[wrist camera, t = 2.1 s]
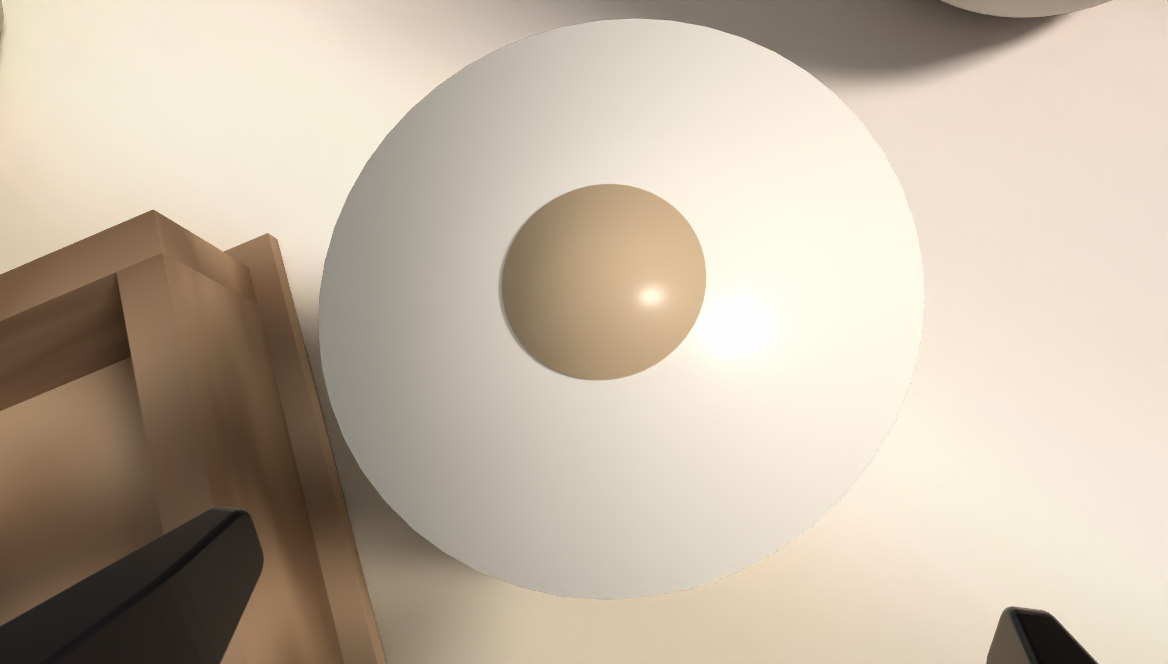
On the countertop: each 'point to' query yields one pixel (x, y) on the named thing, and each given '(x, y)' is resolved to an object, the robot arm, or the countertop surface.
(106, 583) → the robot arm
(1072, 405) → the countertop surface
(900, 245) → the white bottle
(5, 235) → the countertop surface
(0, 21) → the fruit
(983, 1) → the dark egg shaped speaker
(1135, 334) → the countertop surface
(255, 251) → the holder
